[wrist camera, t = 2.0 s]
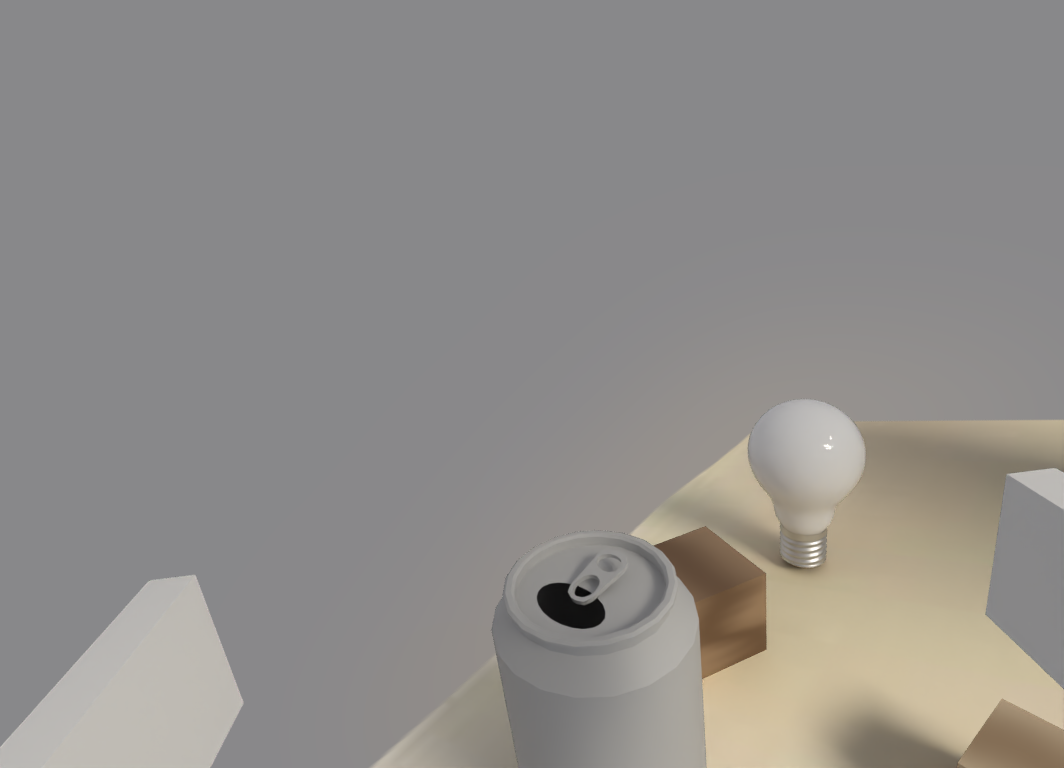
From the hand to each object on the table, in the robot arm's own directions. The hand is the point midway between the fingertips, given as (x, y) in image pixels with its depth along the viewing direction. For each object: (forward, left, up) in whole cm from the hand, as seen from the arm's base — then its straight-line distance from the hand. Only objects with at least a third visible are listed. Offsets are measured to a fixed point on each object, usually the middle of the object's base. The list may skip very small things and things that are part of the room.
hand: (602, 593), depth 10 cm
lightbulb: (-14, -24, -19) cm, 34 cm away
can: (0, -10, -19) cm, 22 cm away
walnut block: (-6, -19, -19) cm, 28 cm away
